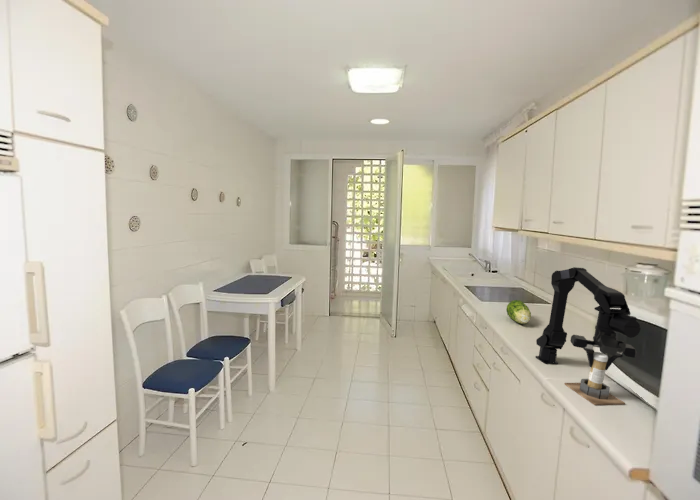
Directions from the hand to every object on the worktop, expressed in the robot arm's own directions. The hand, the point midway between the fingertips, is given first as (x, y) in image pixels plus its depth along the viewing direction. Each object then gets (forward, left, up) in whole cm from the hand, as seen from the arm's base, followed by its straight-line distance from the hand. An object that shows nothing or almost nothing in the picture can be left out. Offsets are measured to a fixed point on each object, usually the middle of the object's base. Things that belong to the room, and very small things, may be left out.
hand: (598, 368), depth 132 cm
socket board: (0, 0, -10) cm, 10 cm away
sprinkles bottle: (0, 0, -8) cm, 8 cm away
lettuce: (-76, +22, -10) cm, 80 cm away
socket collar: (0, 0, -10) cm, 10 cm away
